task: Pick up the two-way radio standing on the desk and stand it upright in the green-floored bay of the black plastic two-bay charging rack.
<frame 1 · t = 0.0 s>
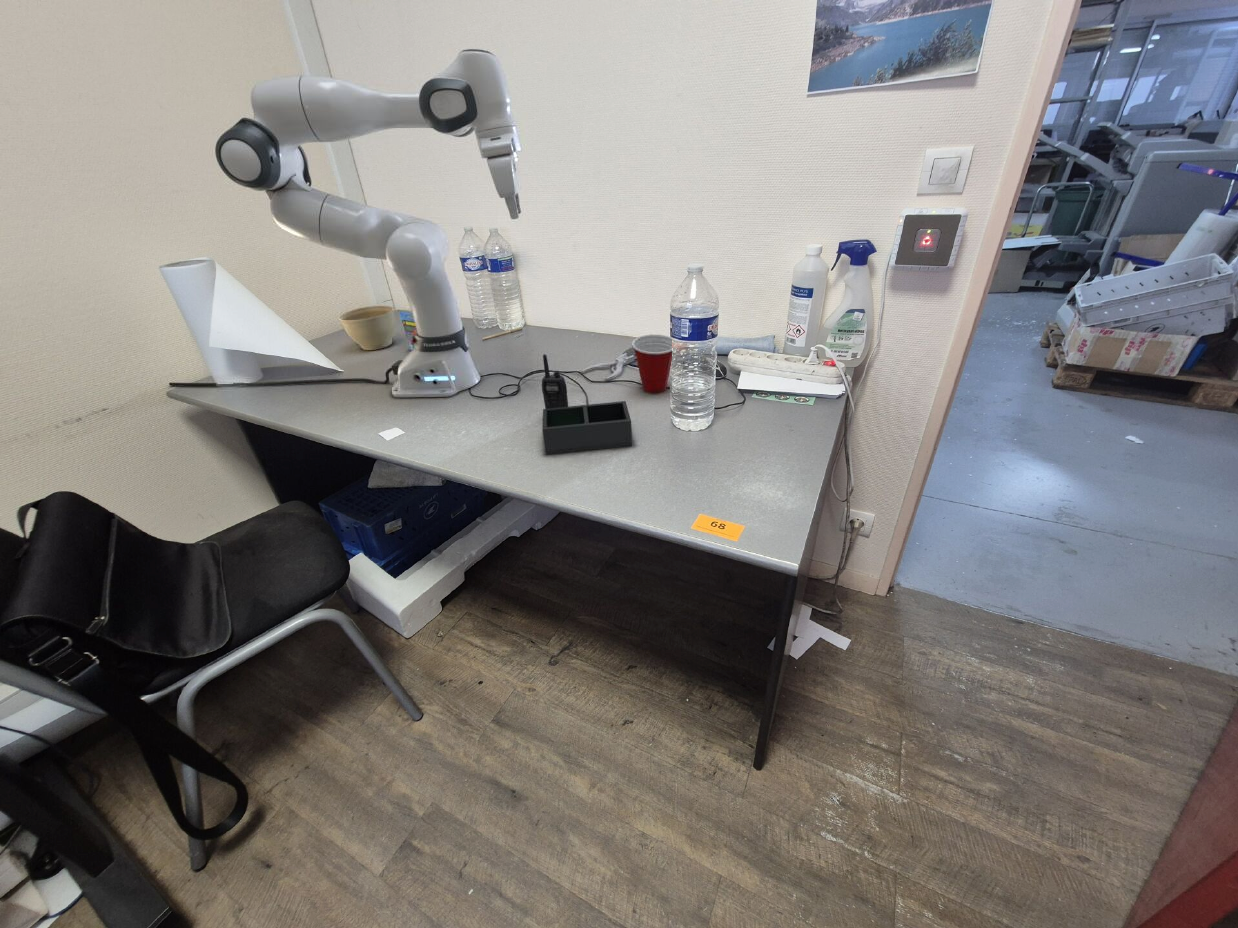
hand: (516, 216, 115), 39 cm above the table, tool pointing down, fingers open, 8 cm apart
charging rack: (588, 439, 105), on the table
two-way radio: (558, 417, 114), on the table
pliers: (612, 368, 137), on the table
plastic cup: (655, 389, 124), on the table
tape cartridge: (423, 351, 158), on the table
planter bowl: (377, 346, 164), on the table
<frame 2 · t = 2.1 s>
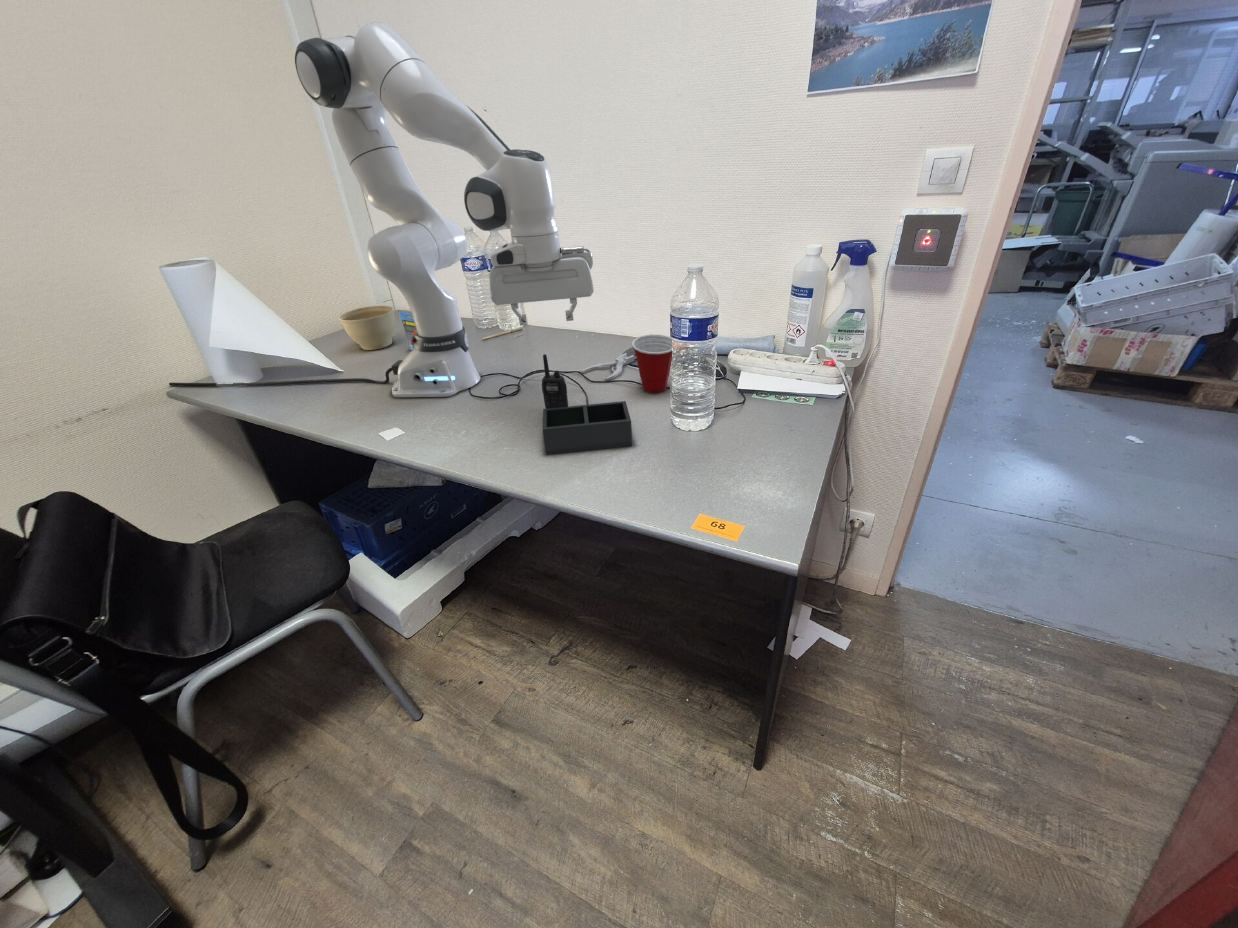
hand: (546, 322, 103), 22 cm above the table, tool pointing down, fingers open, 8 cm apart
nothing on the table moved.
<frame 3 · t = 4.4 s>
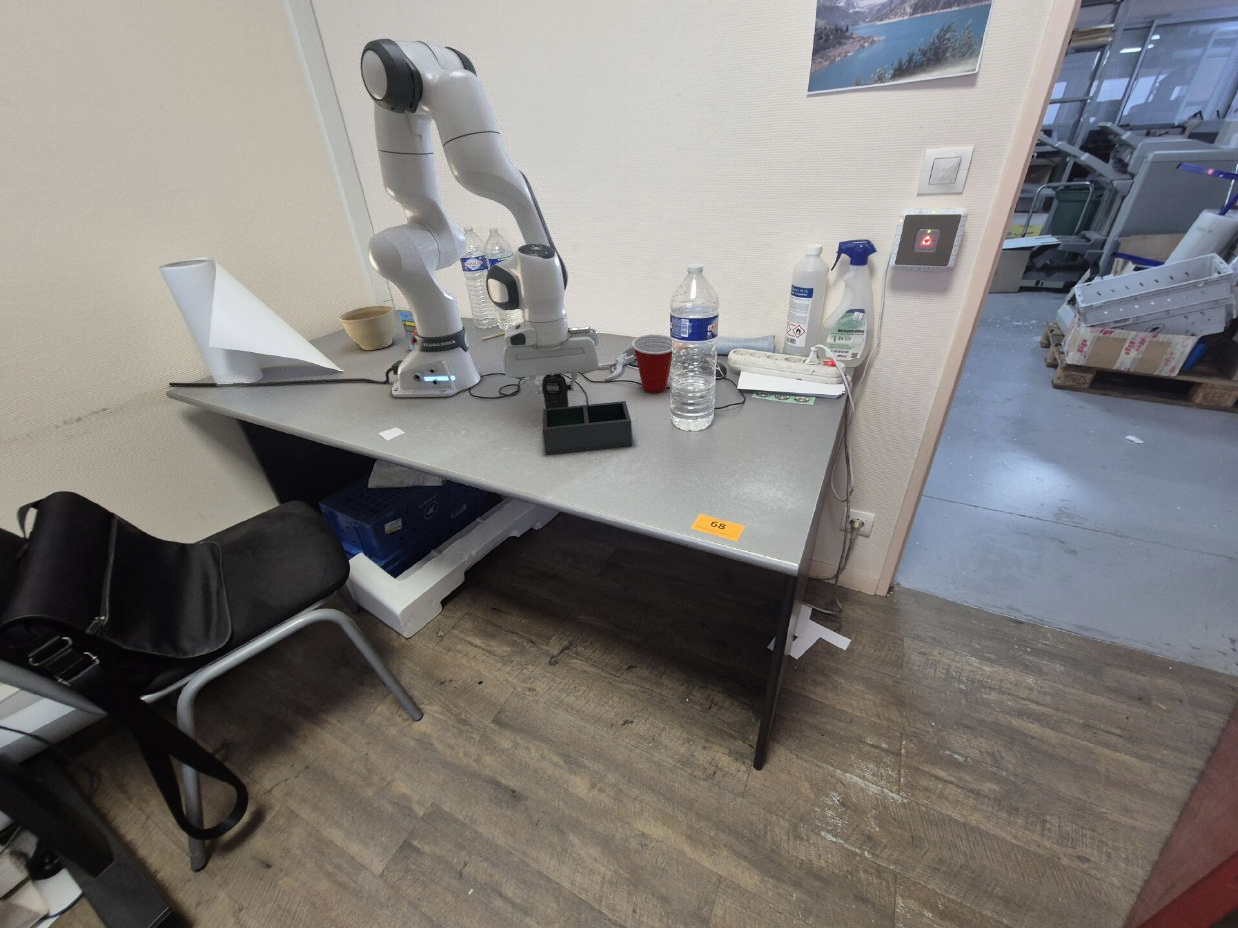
hand: (555, 391, 111), 6 cm above the table, tool pointing down, fingers closed on two-way radio, 5 cm apart
two-way radio: (558, 416, 114), on the table, touching gripper
everything else where it was.
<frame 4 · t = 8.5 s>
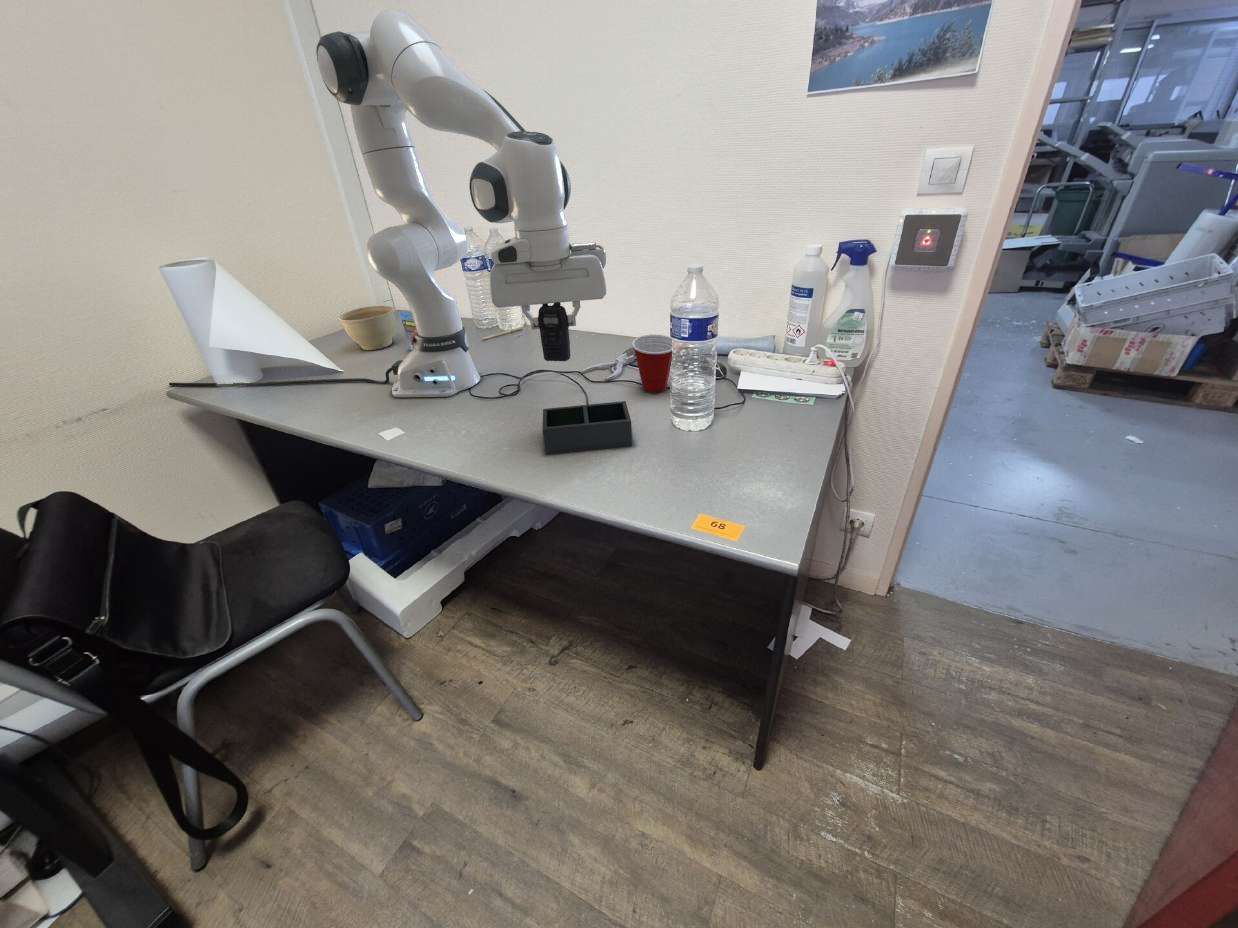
hand: (553, 327, 92), 24 cm above the table, tool pointing down, fingers closed on two-way radio, 5 cm apart
two-way radio: (558, 359, 95), point 18 cm above the table, touching gripper
everything else where it was.
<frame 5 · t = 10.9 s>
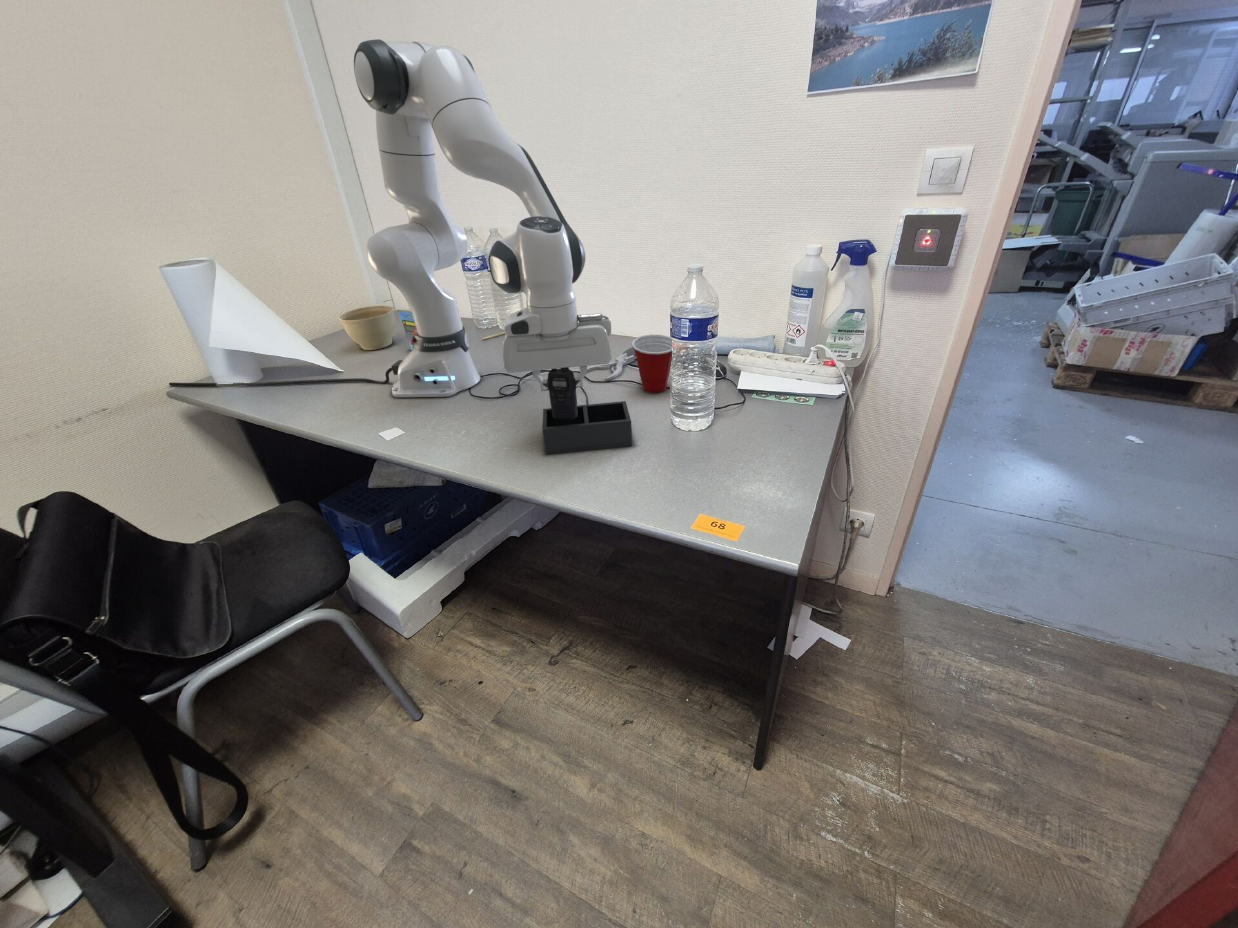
hand: (561, 388, 98), 12 cm above the table, tool pointing down, fingers closed on two-way radio, 5 cm apart
two-way radio: (566, 416, 101), point 6 cm above the table, touching gripper
everything else where it was.
when the fingers open (7 cm above the table, at t = 12.6 s): two-way radio stays where it is, resting on charging rack.
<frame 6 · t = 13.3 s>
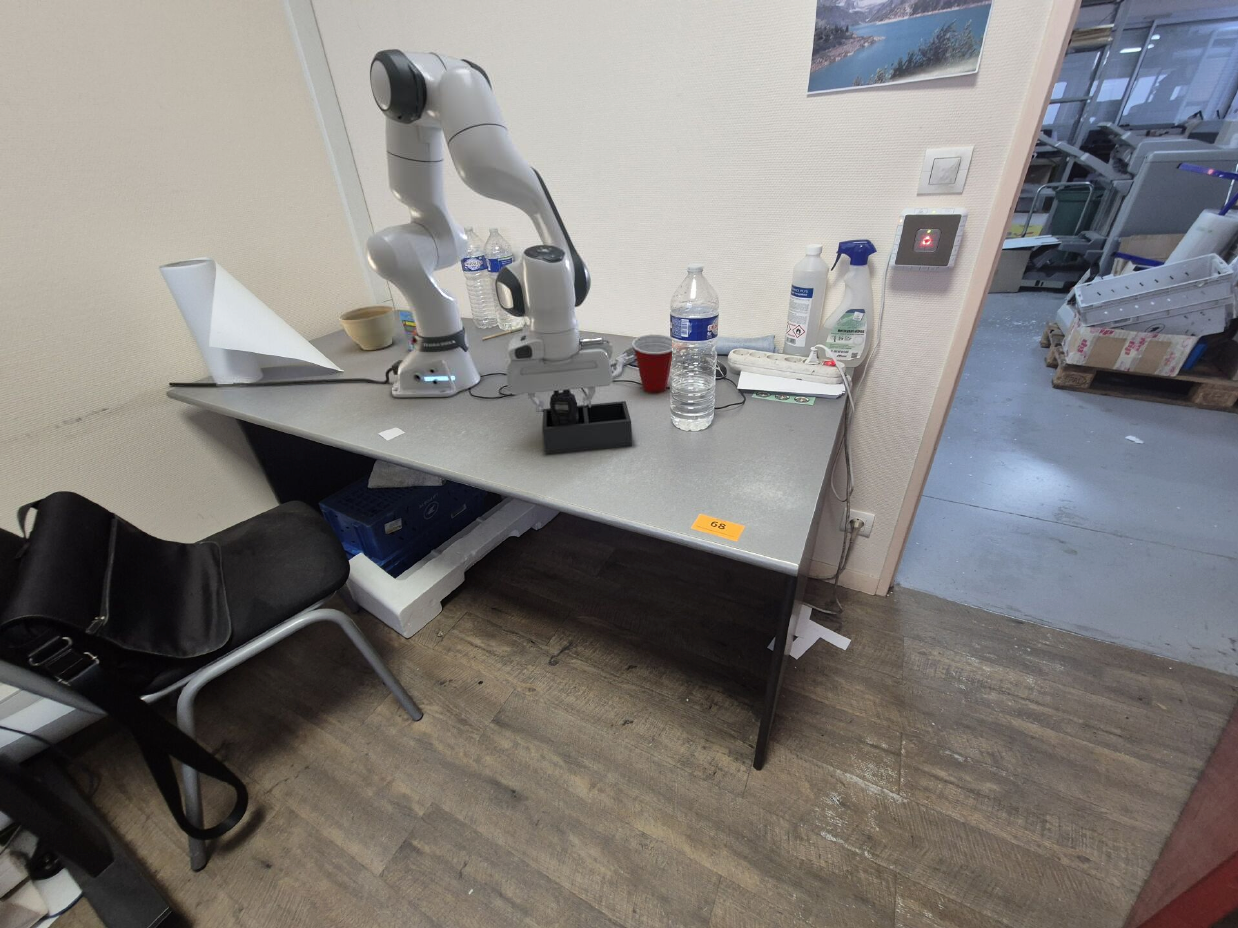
hand: (564, 408, 100), 8 cm above the table, tool pointing down, fingers open, 8 cm apart
two-way radio: (568, 437, 104), point 1 cm above the table, touching charging rack
everything else where it was.
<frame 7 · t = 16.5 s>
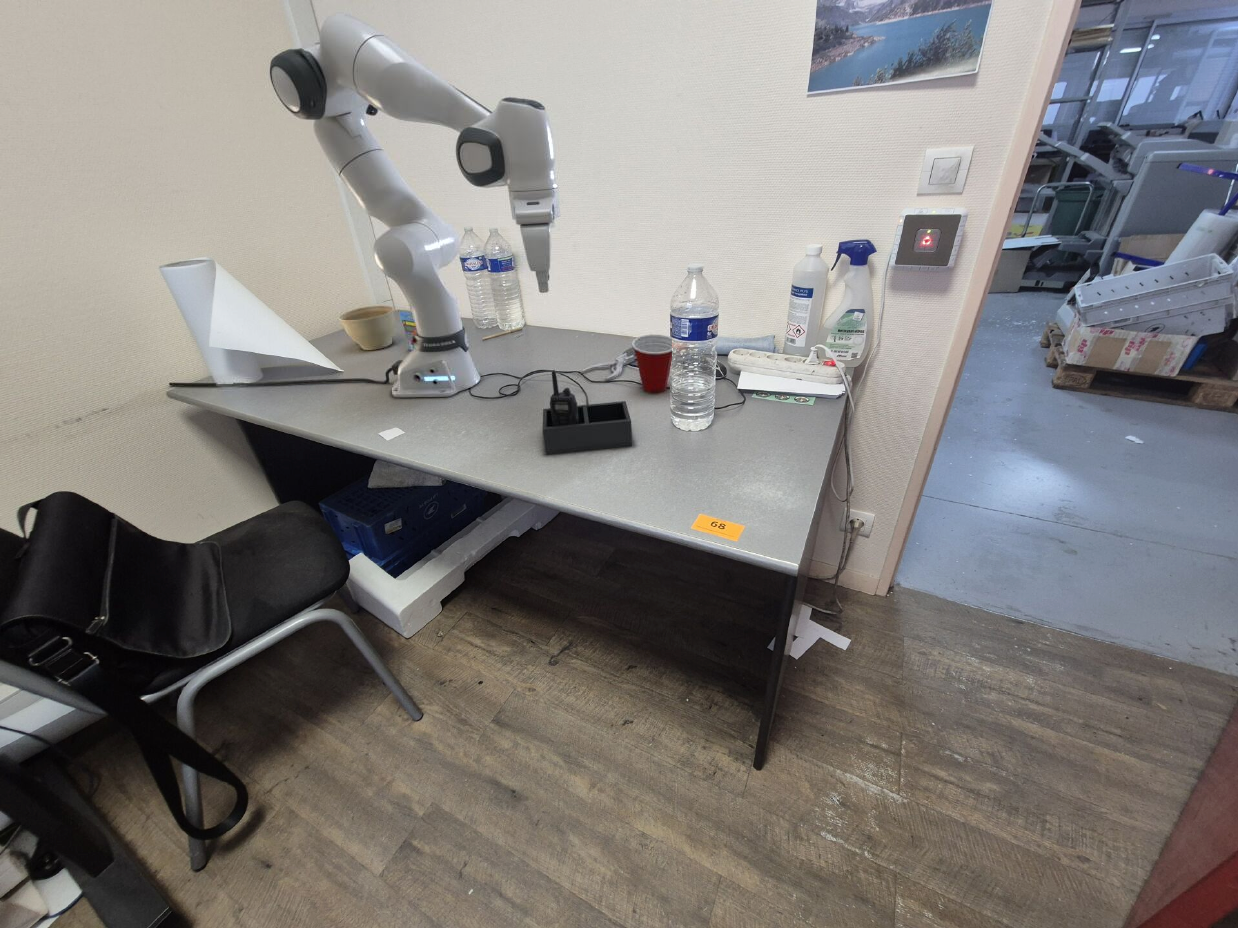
hand: (544, 286, 99), 29 cm above the table, tool pointing down, fingers open, 8 cm apart
nothing on the table moved.
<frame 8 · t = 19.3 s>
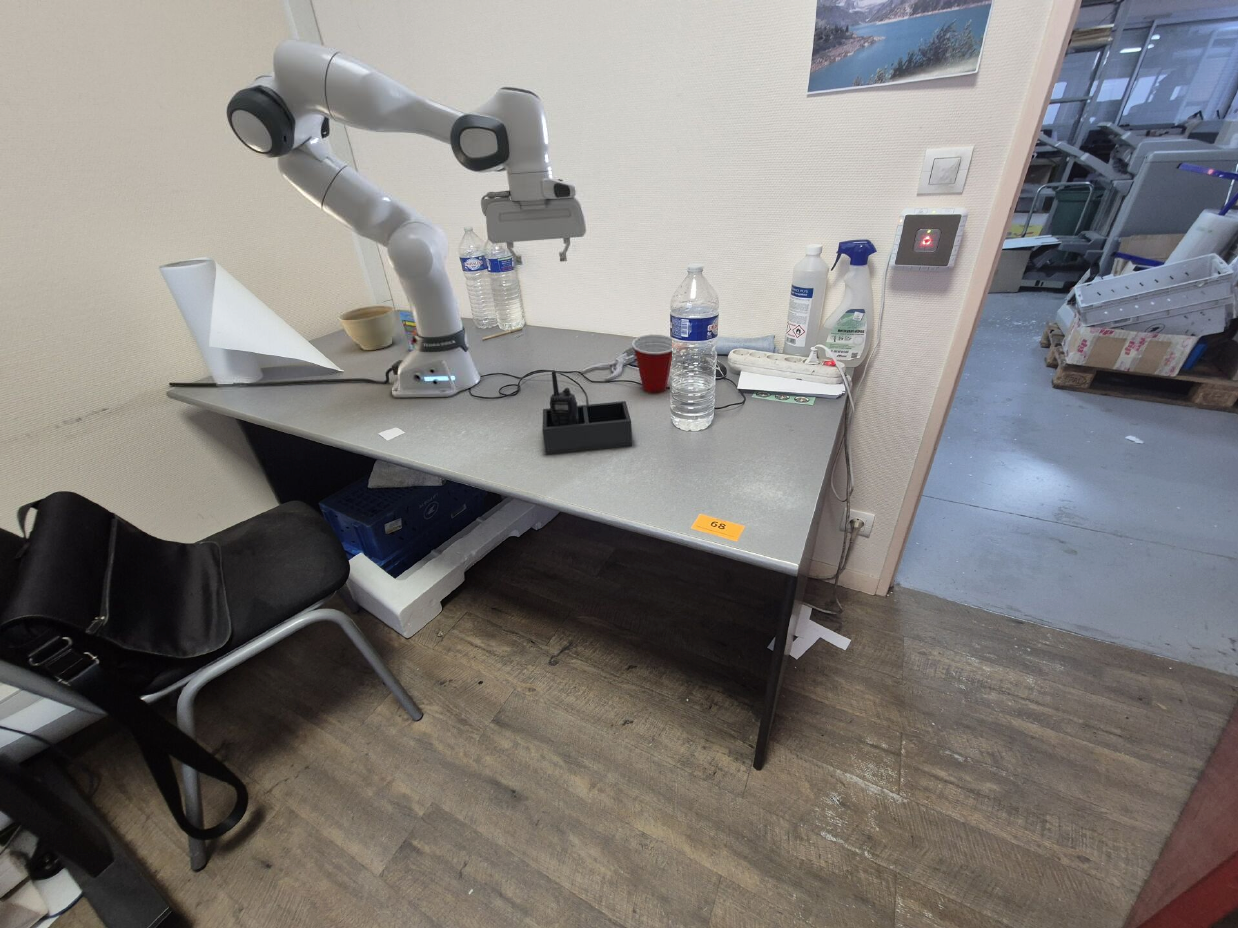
hand: (541, 262, 107), 31 cm above the table, tool pointing down, fingers open, 8 cm apart
nothing on the table moved.
at the end: two-way radio 0.2 cm from the target spot in the charging rack, point 0.8 cm above the charging rack's base; two-way radio tilted 0°; the gripper is holding nothing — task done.
